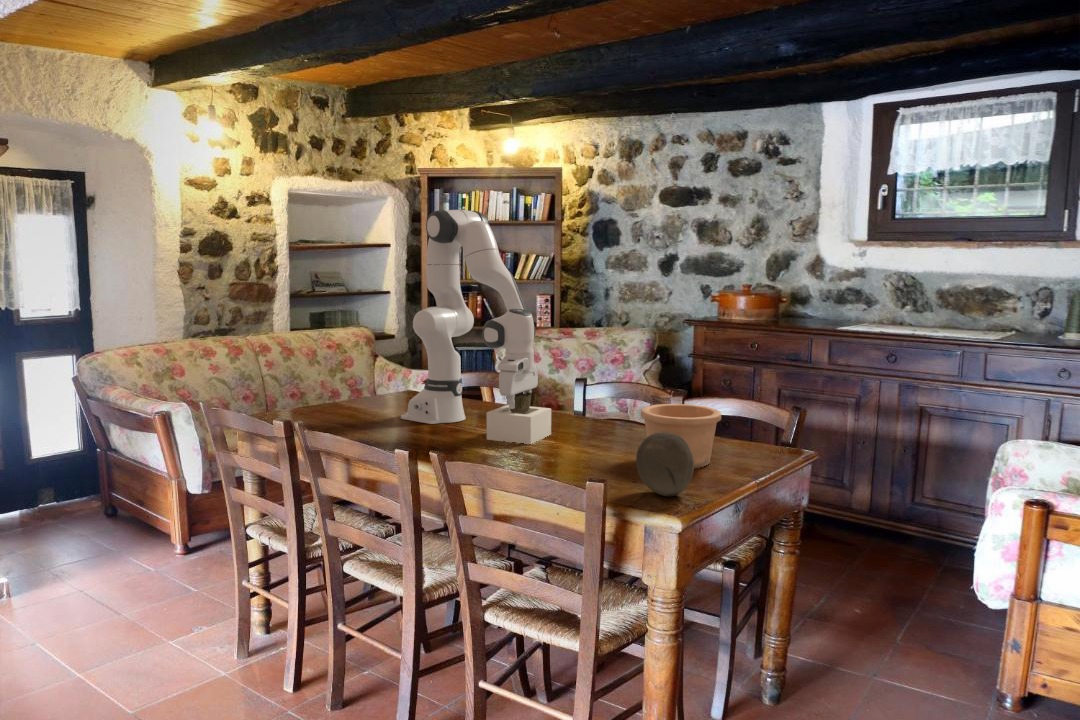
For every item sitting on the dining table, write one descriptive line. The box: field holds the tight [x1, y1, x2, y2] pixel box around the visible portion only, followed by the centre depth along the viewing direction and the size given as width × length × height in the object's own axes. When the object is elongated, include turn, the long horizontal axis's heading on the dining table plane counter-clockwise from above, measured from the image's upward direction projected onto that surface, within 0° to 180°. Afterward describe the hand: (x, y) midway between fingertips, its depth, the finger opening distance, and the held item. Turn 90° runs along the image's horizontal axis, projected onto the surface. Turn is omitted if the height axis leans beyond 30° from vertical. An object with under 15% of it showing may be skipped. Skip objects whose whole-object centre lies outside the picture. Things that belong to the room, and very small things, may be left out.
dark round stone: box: [635, 433, 695, 497], centre depth 197 cm, size 14×14×15 cm
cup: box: [507, 392, 532, 414], centre depth 256 cm, size 8×7×8 cm
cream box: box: [486, 404, 552, 445], centre depth 257 cm, size 15×15×8 cm
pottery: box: [640, 403, 722, 469], centre depth 228 cm, size 22×22×14 cm
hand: (519, 406), depth 256 cm, fingers open, 8 cm apart
